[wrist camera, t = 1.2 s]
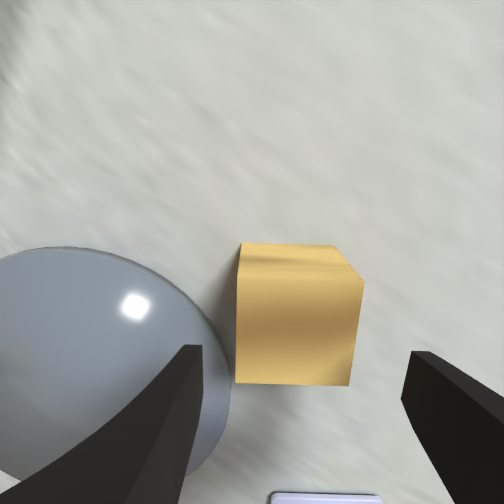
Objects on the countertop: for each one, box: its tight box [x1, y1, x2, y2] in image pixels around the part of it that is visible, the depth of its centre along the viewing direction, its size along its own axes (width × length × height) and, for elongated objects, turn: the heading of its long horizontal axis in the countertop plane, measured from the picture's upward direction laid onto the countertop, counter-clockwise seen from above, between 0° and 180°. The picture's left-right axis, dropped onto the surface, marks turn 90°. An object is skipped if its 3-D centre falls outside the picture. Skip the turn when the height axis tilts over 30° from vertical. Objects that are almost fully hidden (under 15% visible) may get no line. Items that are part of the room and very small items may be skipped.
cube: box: [235, 243, 364, 386], centre depth 15 cm, size 5×5×5 cm
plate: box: [0, 247, 231, 481], centre depth 19 cm, size 18×18×1 cm
